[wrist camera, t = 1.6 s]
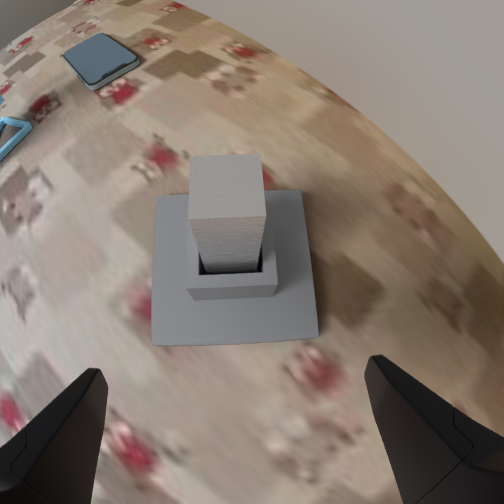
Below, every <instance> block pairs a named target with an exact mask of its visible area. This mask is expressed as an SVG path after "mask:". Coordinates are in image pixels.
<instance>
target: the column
mask: <svg viewBox="0 0 504 504" xmlns="http://www.w3.org/2000/svg"><path fill="white" fill-rule="evenodd" d="M188 220H189V223H190V226H191V229H192V232H193V235H194V238H195V241H196V244H197V247H198V250H199V253H200V256H201V259H202V262H203V265H204V268H205V271H206V273H207V275H220V274H242V273H256V269H257V264H258V258H259V253H260V247H261V242H262V237H263V231H264V226H265V220H266V207H265V196H264V186H263V175H262V165H261V155H260V154H237V155H214V156H197V157H190V178H189V207H188Z"/></svg>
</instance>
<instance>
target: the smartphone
mask: <svg viewBox="0 0 504 504" xmlns="http://www.w3.org/2000/svg"><path fill="white" fill-rule="evenodd" d="M63 58H64V60H65V61H66V62H67V64H68V65H69V66H70V67H71V68H72V70H73V71H74V72H75V73H76V74H77V76H78V77H79V78H80V80H81V81H82V82H83V83H84V84H85V85H86V86H87V87H88V88H89V89H90V90H97V89H99V88H101V87H102V86H104V85H106V84H107V83H109V82H111V81H112V80H114V79H116V78H118V77H119V76H121V75H123V74H125V73H126V72H128V71H130V70H132V69H134V68H135V67H137V66H138V65H139V63H140V62H139V58H138V56H136V55H135V54H133V53H132V52H131V51H129V50H128V49H126V48H125V47H123V46H122V45H120V44H119V43H117V42H116V41H114V40H113V39H111V38H110V37H108V36H107V35H105V34H104V33H99V34H96V35H94V36H92V37H90V38H89V39H87V40H85V41H83V42H81V43H80V44H78V45H76V46H75V47H73V48H71V49H70V50H68V51H66V52H65V53H64V55H63Z"/></svg>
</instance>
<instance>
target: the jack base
mask: <svg viewBox="0 0 504 504" xmlns="http://www.w3.org/2000/svg"><path fill="white" fill-rule="evenodd" d="M264 196H265V207H266V220H265V226H264V231H263V237H262V242H261V247H260V253H259V258H258V264H257V269H256V273H242V274H220V275H207V273H206V271H205V268H204V265H203V262H202V259H201V256H200V253H199V250H198V247H197V244H196V241H195V238H194V235H193V232H192V229H191V226H190V223H189V220H188V207H189V194H180V195H166V196H157V198H156V210H155V225H154V242H153V265H152V345H154V346H203V345H231V344H250V343H266V342H280V341H292V340H303V339H313V338H318V337H319V331H318V321H317V311H316V302H315V293H314V284H313V275H312V267H311V259H310V251H309V243H308V236H307V229H306V221H305V214H304V208H303V201H302V194H301V190H267V191H264Z"/></svg>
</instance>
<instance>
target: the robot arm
mask: <svg viewBox="0 0 504 504" xmlns="http://www.w3.org/2000/svg"><path fill="white" fill-rule="evenodd" d="M365 382H366V386H367V390H368V394H369V398H370V402H371V407H372V411H373V415H374V418H375V421H376V424H377V426H378V429H379V432H380V435H381V438H382V441H383V443H384V446H385V449H386V452H387V455H388V458H389V461H390V464H391V467H392V470H393V473H394V476H395V479H396V482H397V485H398V488H399V492H400V495H401V498H402V501H403V504H504V437H502V436H501V435H499V434H497V433H495V432H493V431H492V430H490V429H488V428H486V427H485V426H483V425H481V424H479V423H478V422H476V421H474V420H473V419H471V418H470V417H468V416H467V415H465V414H464V413H462V412H461V411H459V410H458V409H457V408H455V407H453V406H452V405H451V404H450V403H448V402H447V401H445V400H444V399H443V398H441V397H440V396H438V395H437V394H436V393H434V392H433V391H432V390H430V389H429V388H427V387H426V386H425V385H423V384H422V383H420V382H419V381H418V380H416V379H415V378H414V377H412V376H411V375H409V374H408V373H407V372H405V371H404V370H403V369H401V368H400V367H398V366H397V365H396V364H394V363H393V362H391V361H390V360H389V359H387V358H386V357H385V356H383V355H374V356H371V357H370V358H369V360H368V363H367V367H366V370H365ZM107 396H108V385H107V382H106V380H105V378H104V376H103V374H102V371H101V370H100V369H98V368H88V369H87V370H86V371H84V372H83V373H82V374H81V375H80V376H79V377H78V378H77V379H76V380H75V381H73V382H72V383H71V384H70V385H69V386H68V387H67V388H66V389H65V390H64V391H62V392H61V393H60V394H59V395H58V396H57V397H56V398H55V399H54V400H53V401H52V402H51V403H49V404H48V405H47V406H46V407H45V408H44V409H43V410H42V411H41V412H40V413H39V414H38V415H36V416H35V417H34V418H33V419H32V420H31V421H30V422H29V423H28V424H27V425H26V427H24V428H22V429H21V430H20V431H19V432H18V433H17V434H16V435H15V436H14V437H13V438H11V439H10V440H9V441H8V442H7V443H5V444H4V445H3V446H2V447H1V448H0V504H91V498H92V491H93V485H94V479H95V473H96V467H97V461H98V456H99V451H100V446H101V441H102V436H103V431H104V424H105V414H106V405H107Z"/></svg>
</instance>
